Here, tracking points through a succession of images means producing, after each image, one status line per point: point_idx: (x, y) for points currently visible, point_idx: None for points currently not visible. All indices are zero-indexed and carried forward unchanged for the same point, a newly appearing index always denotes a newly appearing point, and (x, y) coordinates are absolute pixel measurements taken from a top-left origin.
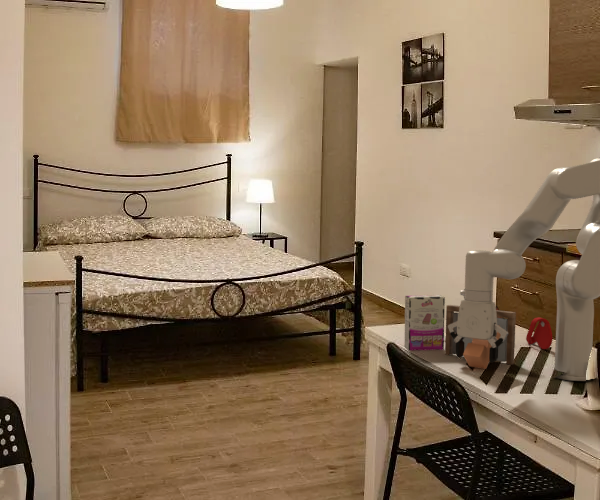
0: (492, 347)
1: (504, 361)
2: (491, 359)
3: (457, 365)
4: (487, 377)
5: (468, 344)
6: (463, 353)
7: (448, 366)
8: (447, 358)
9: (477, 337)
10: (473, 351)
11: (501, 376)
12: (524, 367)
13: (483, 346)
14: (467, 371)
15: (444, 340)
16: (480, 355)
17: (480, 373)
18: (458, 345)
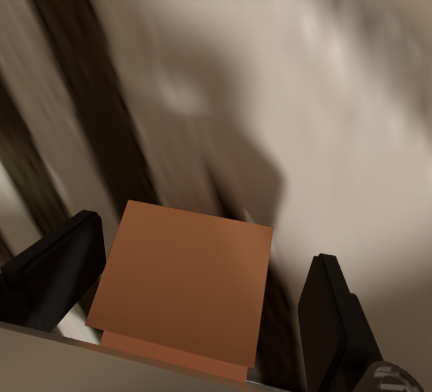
0: (9, 284)
1: None
2: (74, 216)
3: (321, 244)
4: (60, 35)
5: (246, 343)
6: (270, 236)
7: (367, 195)
8: (410, 361)
9: (35, 352)
10: (185, 256)
11: (32, 117)
12: (75, 323)
13: (98, 308)
14: (220, 126)
15: None
16: (123, 214)
17: (140, 120)
18: (344, 322)
